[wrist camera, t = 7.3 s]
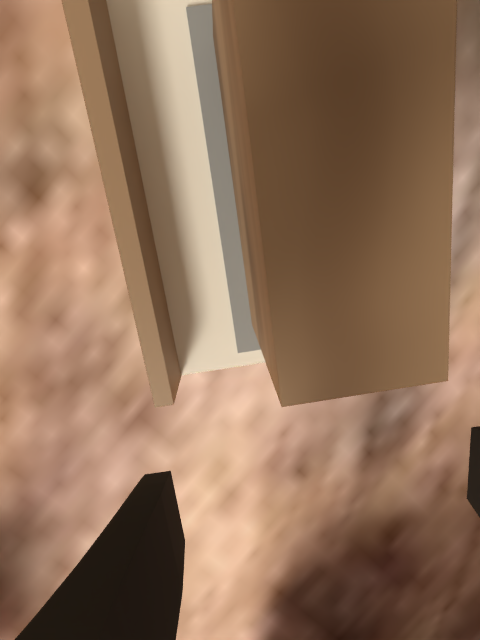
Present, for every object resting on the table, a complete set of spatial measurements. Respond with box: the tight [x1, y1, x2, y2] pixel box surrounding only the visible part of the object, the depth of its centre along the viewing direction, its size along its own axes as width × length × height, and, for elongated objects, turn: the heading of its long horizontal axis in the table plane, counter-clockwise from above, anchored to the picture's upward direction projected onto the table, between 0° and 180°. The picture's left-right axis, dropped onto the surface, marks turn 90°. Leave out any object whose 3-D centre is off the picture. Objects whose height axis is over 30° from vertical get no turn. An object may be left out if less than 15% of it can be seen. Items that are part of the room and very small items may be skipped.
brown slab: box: [212, 0, 457, 407], centre depth 11 cm, size 5×12×8 cm, turn 8°
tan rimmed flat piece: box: [62, 0, 265, 408], centre depth 14 cm, size 12×16×4 cm
